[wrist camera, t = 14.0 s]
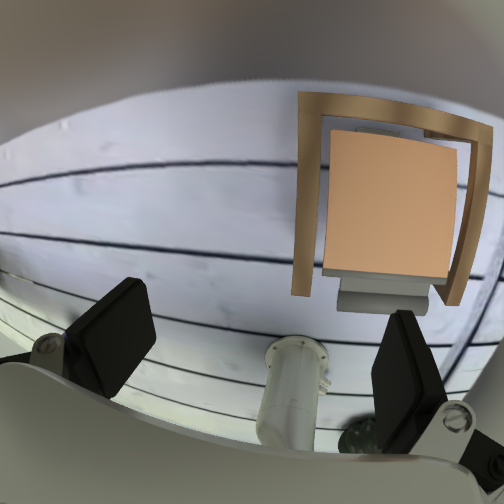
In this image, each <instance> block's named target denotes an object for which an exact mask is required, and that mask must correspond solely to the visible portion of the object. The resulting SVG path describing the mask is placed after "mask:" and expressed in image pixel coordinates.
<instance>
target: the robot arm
mask: <svg viewBox="0 0 504 504" xmlns="http://www.w3.org/2000/svg"><path fill="white" fill-rule="evenodd" d="M65 333H66V335H67V338H66V339H65V340H64V338H63V336H62V335H60V334H58V333H48V334H45V335H43V336H41V337H40V338H38V339H37V340H36V341H35V343H34V344H33V347H32V352H27V353H23V354H18V355H13V356H7V357H4V358H0V504H504V447H503V446H502V445H500V444H498V443H497V442H495V441H494V440H492V439H491V438H489V437H487V436H486V435H484V434H483V433H481V432H480V431H478V430H476V429H475V426H476V415H475V413H474V411H473V409H472V408H471V407H470V406H469V405H468V404H466V403H465V402H462V401H460V400H450V401H448V398H447V395H446V392H445V389H444V386H443V383H442V380H441V377H440V374H439V371H438V368H437V366H436V363H435V360H434V357H433V355H432V352H431V350H430V348H429V347H427V345H426V342H425V340H424V337H423V335H422V332H421V330H420V327H419V325H418V322H417V320H416V318H415V315H414V313H413V311H412V310H399V309H398V310H396V312H395V313H391V315H390V317H389V321H388V324H387V327H386V330H385V333H384V336H383V339H382V342H381V345H380V348H379V350H378V353H377V356H376V359H375V361H374V364H373V367H372V371H371V378H372V387H373V396H374V406H375V418H376V432H377V447H378V449H382V454H343V453H326V452H314V438H315V427H316V416H317V405H318V394H319V395H320V396H324V395H325V394H326V392H327V389H326V388H325V387H323V386H321V385H319V383H322V384H323V385H324V386H326V387H329V386H330V385H331V381H329V380H327V379H325V378H324V372H325V370H326V369H327V366H328V354H327V351H326V350H325V348H324V347H323V346H322V345H321V344H320V343H318V342H317V341H315V340H313V339H311V338H308V337H303V336H287V337H283V338H280V339H278V340H276V341H275V342H273V343H272V344H271V345H270V346H269V347H268V349H267V351H266V355H265V363H266V366H267V368H268V369H269V371H270V372H269V376H268V379H267V383H266V387H265V391H264V395H263V399H262V403H261V406H260V410H259V414H258V417H257V421H256V433H257V436H258V439H259V441H260V442H261V444H262V445H258V444H252V443H247V442H242V441H237V440H232V439H227V438H223V437H218V436H214V435H211V434H207V433H203V432H199V431H196V430H192V429H188V428H185V427H182V426H178V425H175V424H172V423H169V422H166V421H163V420H160V419H157V418H154V417H151V416H149V415H146V414H143V413H140V412H138V411H135V410H133V409H130V408H128V407H125V406H123V405H120V404H118V403H116V402H113V401H111V400H110V399H111V397H112V398H113V397H115V396H116V395H117V393H118V392H119V390H120V389H121V388H122V386H123V385H124V384H125V382H126V381H127V380H128V378H129V377H130V376H131V374H132V373H133V372H134V370H135V369H136V368H137V366H138V365H139V364H140V362H141V361H142V360H143V358H144V357H145V356H146V354H147V353H148V352H149V350H150V349H151V348H152V346H153V345H154V344H155V341H156V332H155V328H154V323H153V319H152V314H151V309H150V304H149V299H148V294H147V288H146V285H145V284H144V283H143V281H142V280H141V279H138V278H132V277H127V278H126V279H124V280H123V281H122V282H121V283H120V284H118V285H117V286H116V287H115V288H114V289H112V290H111V291H110V292H109V293H108V294H106V295H105V296H104V297H103V298H102V299H100V300H99V301H98V302H97V303H96V304H95V305H93V306H92V307H91V308H90V309H89V310H88V311H87V312H85V313H84V314H83V315H82V316H81V317H80V318H79V319H77V320H76V321H75V322H74V323H73V324H72V325H71V326H70V327H68V328H67V329H66V330H65Z"/></svg>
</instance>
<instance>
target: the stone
mask: <svg viewBox="0 0 504 504" xmlns="http://www.w3.org/2000/svg"><path fill="white" fill-rule="evenodd" d="M357 132H362V133H370V134H378V135H385V136H392V137H398V138H399V133H397V132H391V131H384V130H377V129H370V128H358V129H357Z"/></svg>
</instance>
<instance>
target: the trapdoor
mask: <svg viewBox="0 0 504 504" xmlns="http://www.w3.org/2000/svg"><path fill="white" fill-rule="evenodd" d="M456 195H457V149H453V148H449V147H444V146H440V145H435V144H431V143H426V142H421V141H415V140H410V139H404V138H398V137H392V136H385V135H378V134H370V133H362V132H353V131H343V130H331V131H330V168H329V192H328V209H327V224H326V237H325V249H324V260H323V269H322V276H328V277H340V278H341V281H340V288H339V291H338V297H337V311H342V312H355V313H370V314H388V315H391V313H395V312H396V310H398V309H399V310H412V311H413V313H414V315H415V316H425V315H426V313H427V311H428V306H429V300H428V293H429V288H430V284H434V285H445V284H446V282H447V275H448V269H449V263H450V257H451V250H452V242H453V234H454V224H455V212H456Z"/></svg>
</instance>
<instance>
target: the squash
mask: <svg viewBox="0 0 504 504" xmlns="http://www.w3.org/2000/svg"><path fill="white" fill-rule="evenodd" d="M338 450H339V452H340V453H343V454H382V449H378V447H377V432H376V420H374V421H373V420H371V419H366V420H365V421H363V422H362V423H353V424H352V425H351V426H350V427H349V428H348V429H347V430H346V431H344V432H343V434H342V435H341V437H340V439H339V442H338Z"/></svg>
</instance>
